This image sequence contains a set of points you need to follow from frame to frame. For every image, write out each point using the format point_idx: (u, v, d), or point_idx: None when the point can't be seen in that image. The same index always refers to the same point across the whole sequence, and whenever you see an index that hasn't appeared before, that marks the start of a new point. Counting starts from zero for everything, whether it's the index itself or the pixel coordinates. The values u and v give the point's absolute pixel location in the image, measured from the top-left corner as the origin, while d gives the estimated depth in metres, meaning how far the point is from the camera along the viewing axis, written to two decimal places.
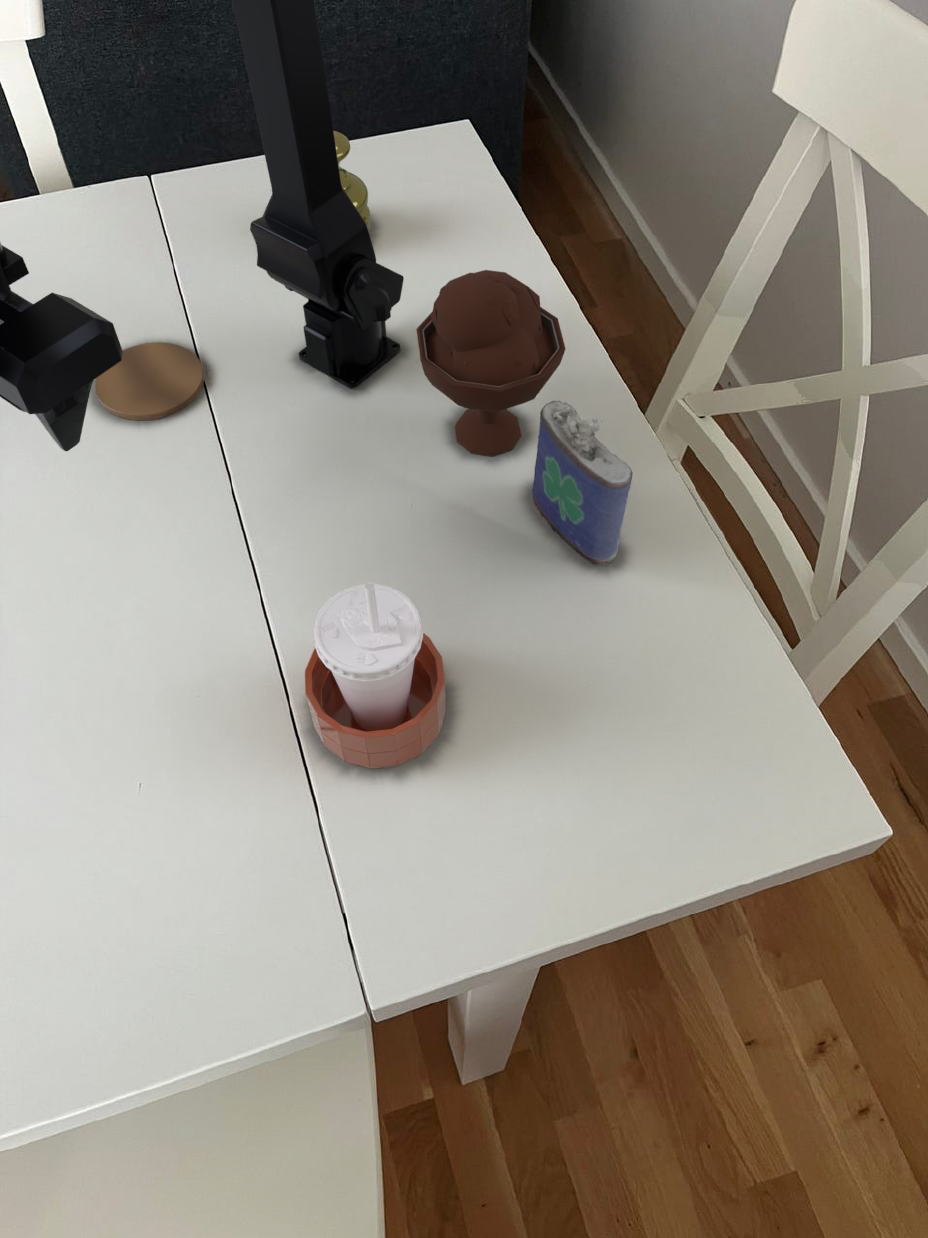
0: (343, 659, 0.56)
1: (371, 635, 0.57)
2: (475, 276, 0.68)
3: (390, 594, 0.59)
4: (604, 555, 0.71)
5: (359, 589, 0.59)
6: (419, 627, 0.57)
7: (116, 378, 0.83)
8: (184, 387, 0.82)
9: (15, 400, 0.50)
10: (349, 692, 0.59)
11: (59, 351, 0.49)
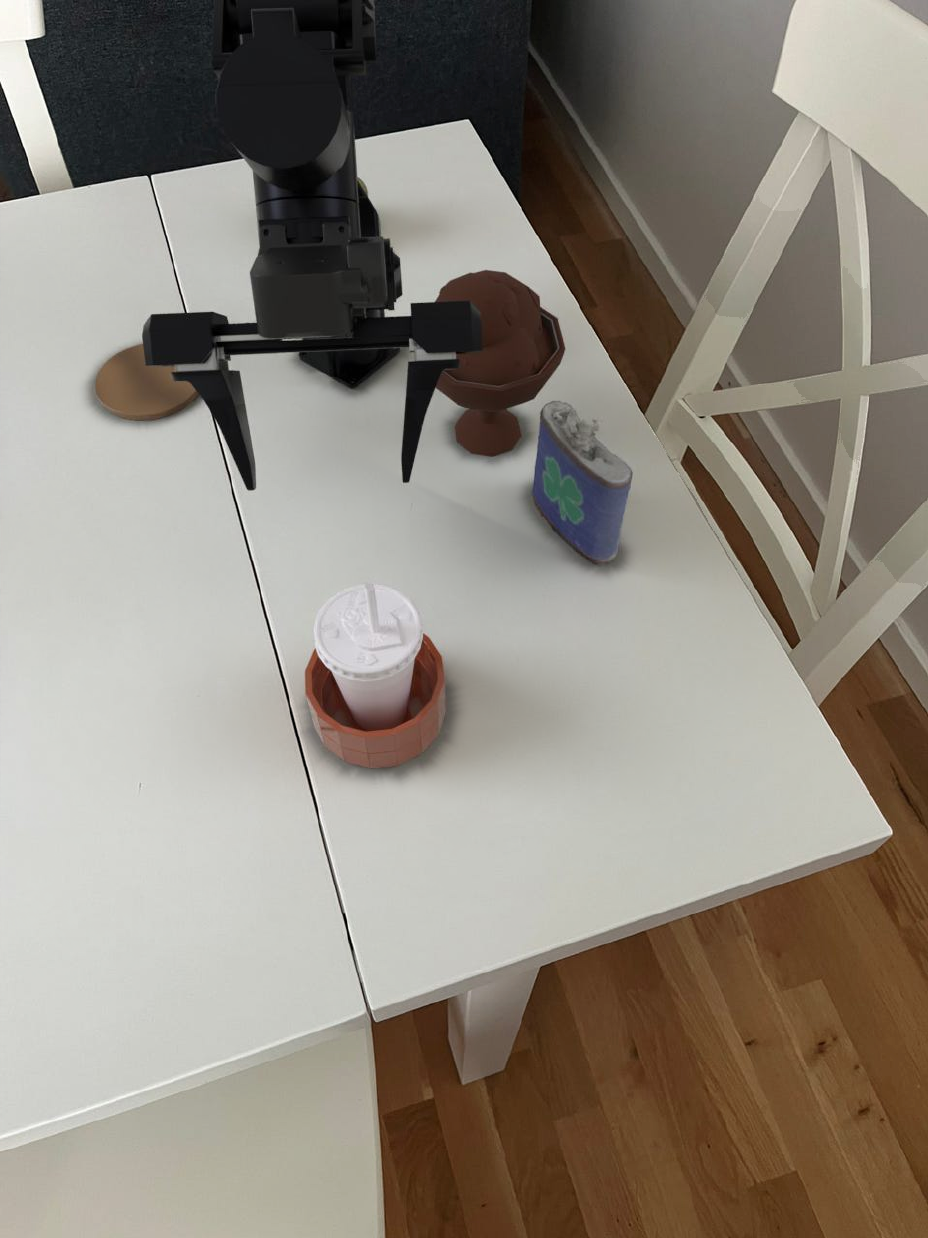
0: (343, 659, 0.56)
1: (371, 635, 0.57)
2: (475, 276, 0.68)
3: (390, 594, 0.59)
4: (604, 555, 0.71)
5: (359, 589, 0.59)
6: (419, 627, 0.57)
7: (116, 378, 0.83)
8: (184, 387, 0.82)
9: (456, 343, 0.54)
10: (349, 692, 0.59)
11: None
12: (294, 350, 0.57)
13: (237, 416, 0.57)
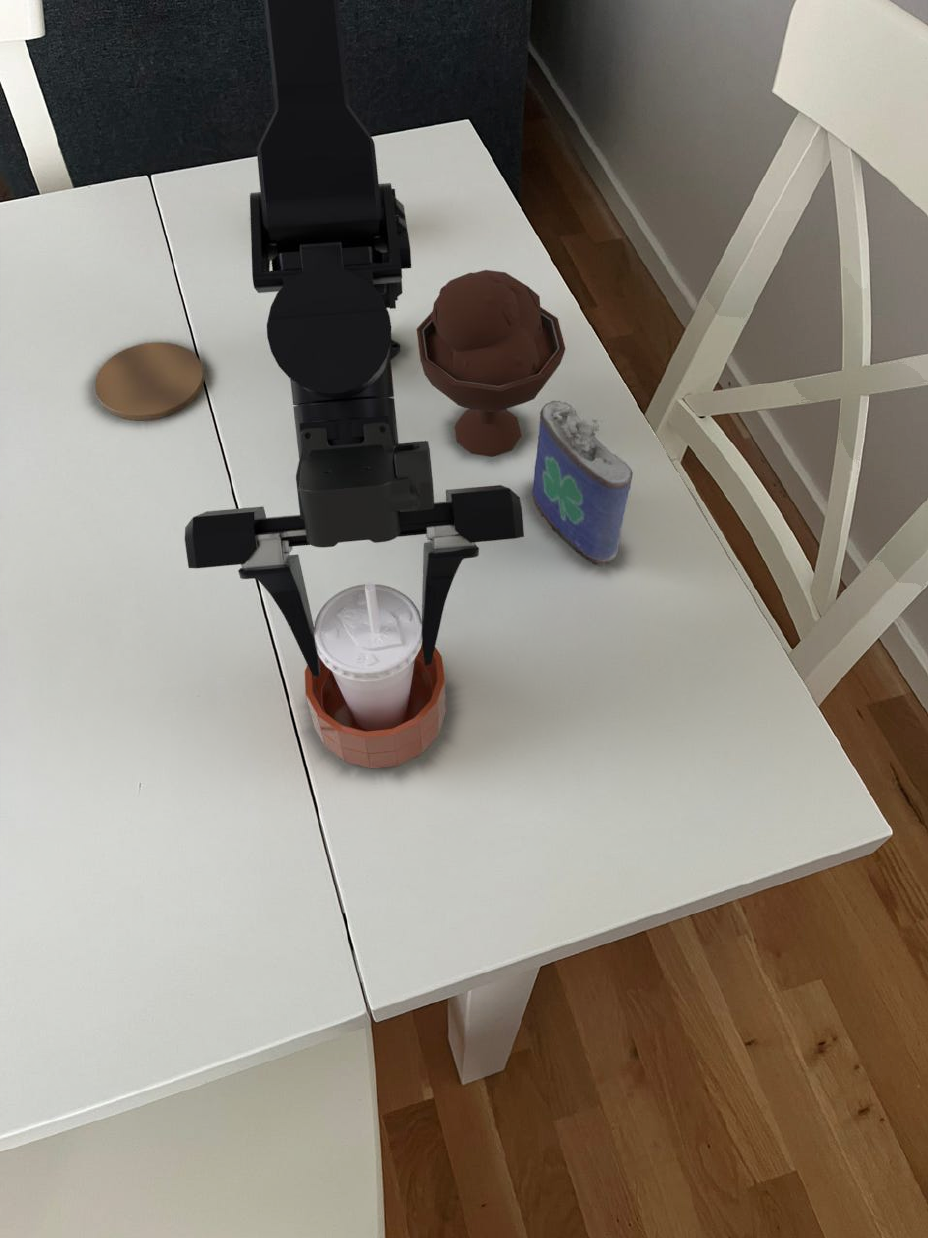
0: (343, 659, 0.56)
1: (371, 635, 0.57)
2: (475, 276, 0.68)
3: (390, 594, 0.59)
4: (604, 555, 0.71)
5: (360, 589, 0.59)
6: (419, 627, 0.57)
7: (116, 378, 0.83)
8: (184, 387, 0.82)
9: (499, 532, 0.55)
10: (349, 692, 0.59)
11: None
12: None
13: (303, 607, 0.56)
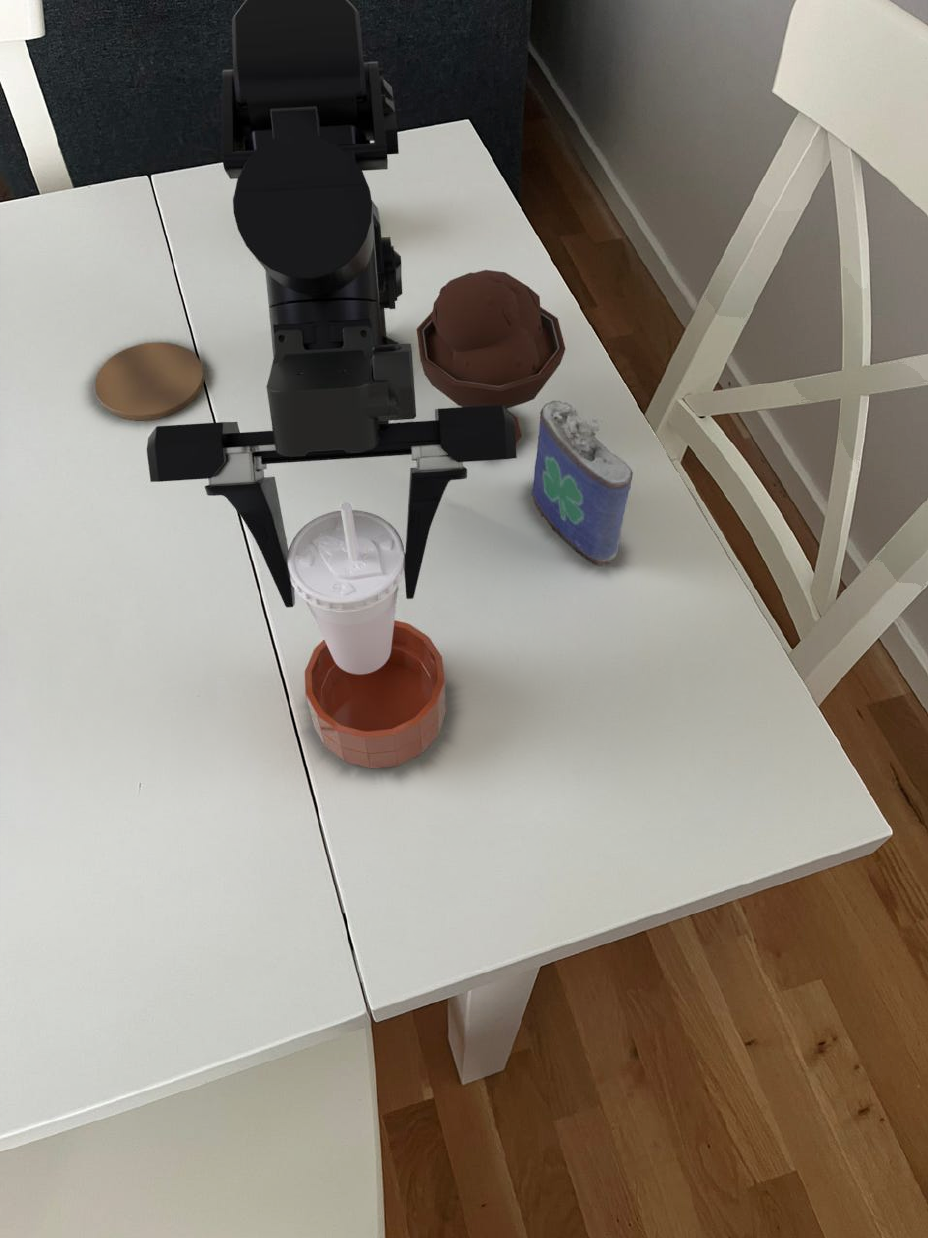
0: (317, 587, 0.52)
1: (349, 563, 0.52)
2: (475, 276, 0.68)
3: (372, 521, 0.54)
4: (604, 555, 0.71)
5: (339, 514, 0.55)
6: (401, 556, 0.53)
7: (116, 378, 0.83)
8: (184, 387, 0.82)
9: (489, 451, 0.50)
10: (325, 626, 0.55)
11: None
12: (311, 459, 0.52)
13: (276, 530, 0.52)
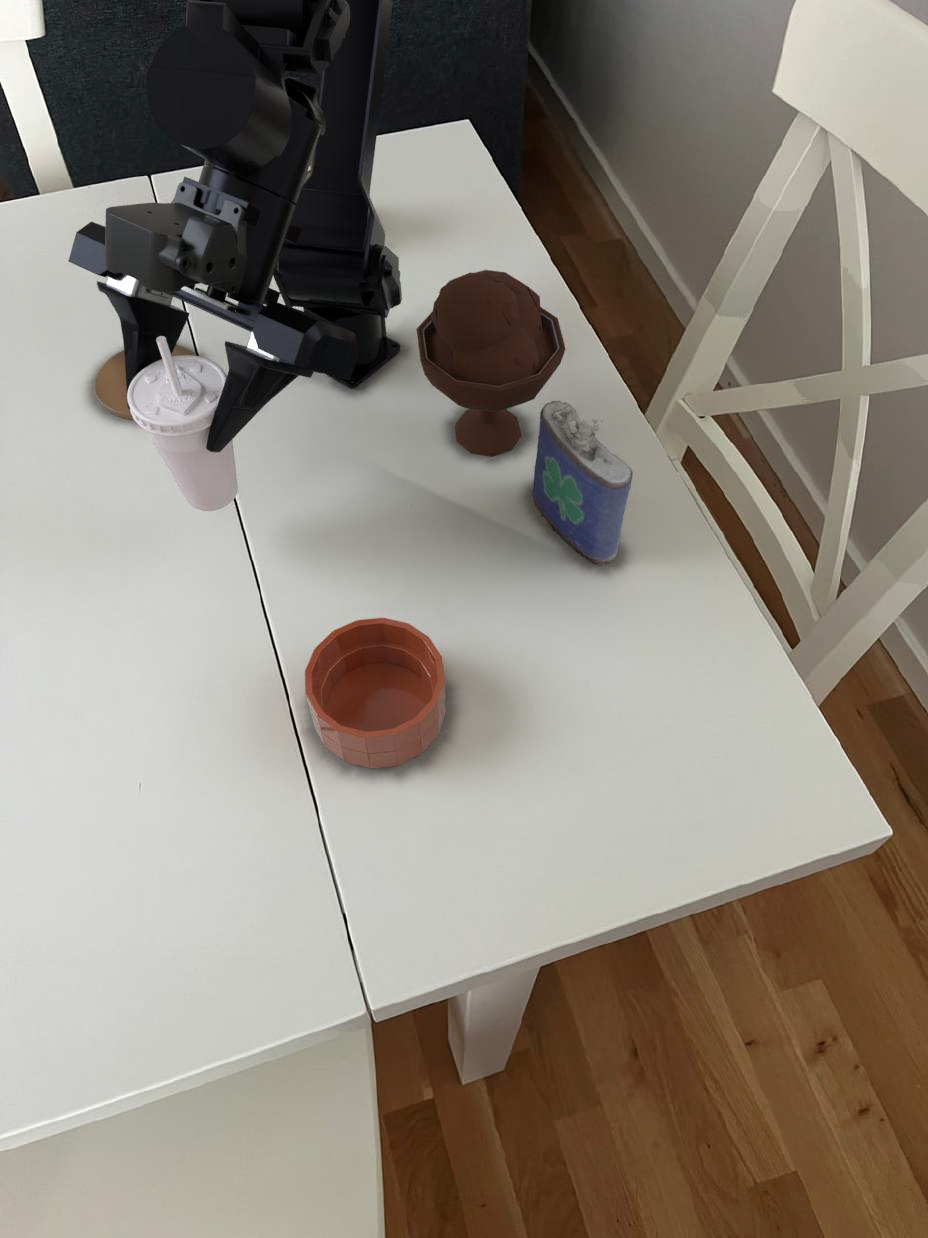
0: (137, 400, 0.61)
1: (171, 395, 0.61)
2: (475, 276, 0.68)
3: (218, 377, 0.62)
4: (604, 555, 0.71)
5: (204, 361, 0.63)
6: (209, 410, 0.60)
7: (116, 378, 0.83)
8: None
9: (283, 351, 0.56)
10: None
11: (336, 332, 0.57)
12: (189, 302, 0.61)
13: (139, 343, 0.62)
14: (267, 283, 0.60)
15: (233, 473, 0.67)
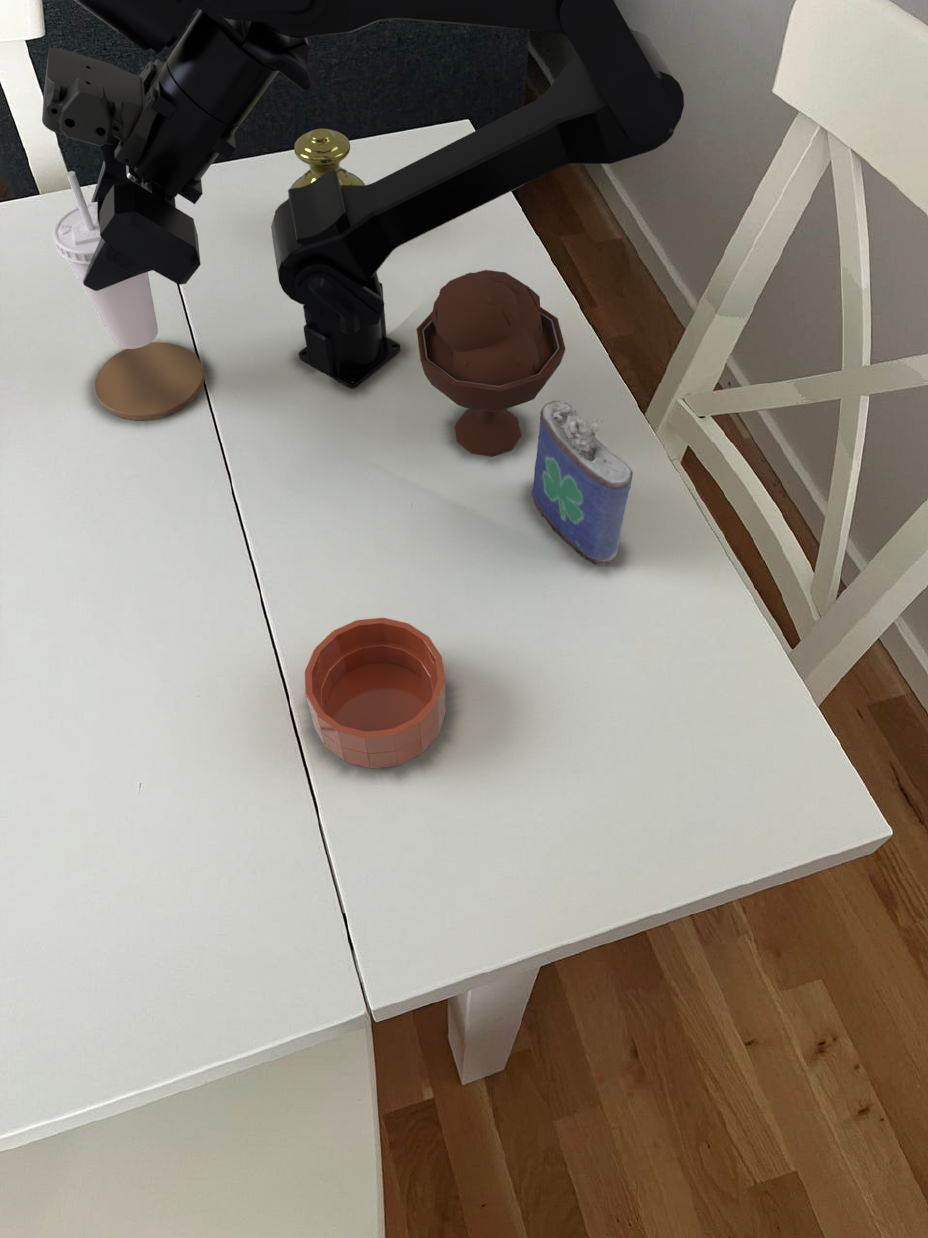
0: (68, 218, 0.72)
1: (84, 226, 0.71)
2: (475, 276, 0.68)
3: None
4: (604, 555, 0.71)
5: None
6: (90, 251, 0.69)
7: (116, 378, 0.83)
8: (184, 387, 0.82)
9: (103, 222, 0.63)
10: None
11: (158, 232, 0.63)
12: None
13: (103, 179, 0.72)
14: (178, 176, 0.67)
15: (136, 324, 0.76)
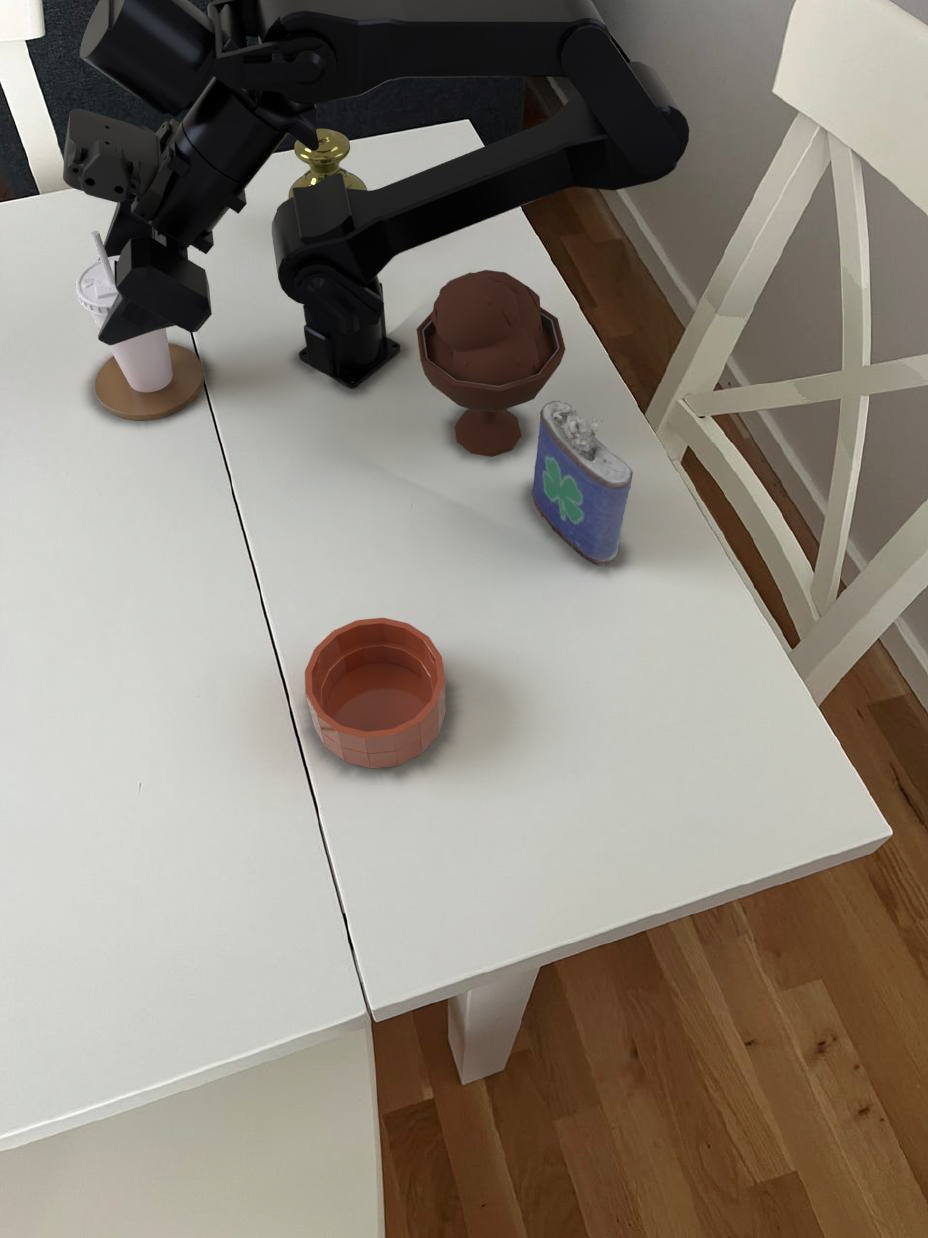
0: (90, 271, 0.76)
1: (106, 280, 0.75)
2: (475, 276, 0.68)
3: None
4: (604, 555, 0.71)
5: None
6: None
7: (116, 378, 0.83)
8: (184, 387, 0.82)
9: (120, 274, 0.66)
10: None
11: (172, 285, 0.66)
12: None
13: (117, 217, 0.76)
14: (191, 229, 0.70)
15: (153, 370, 0.80)
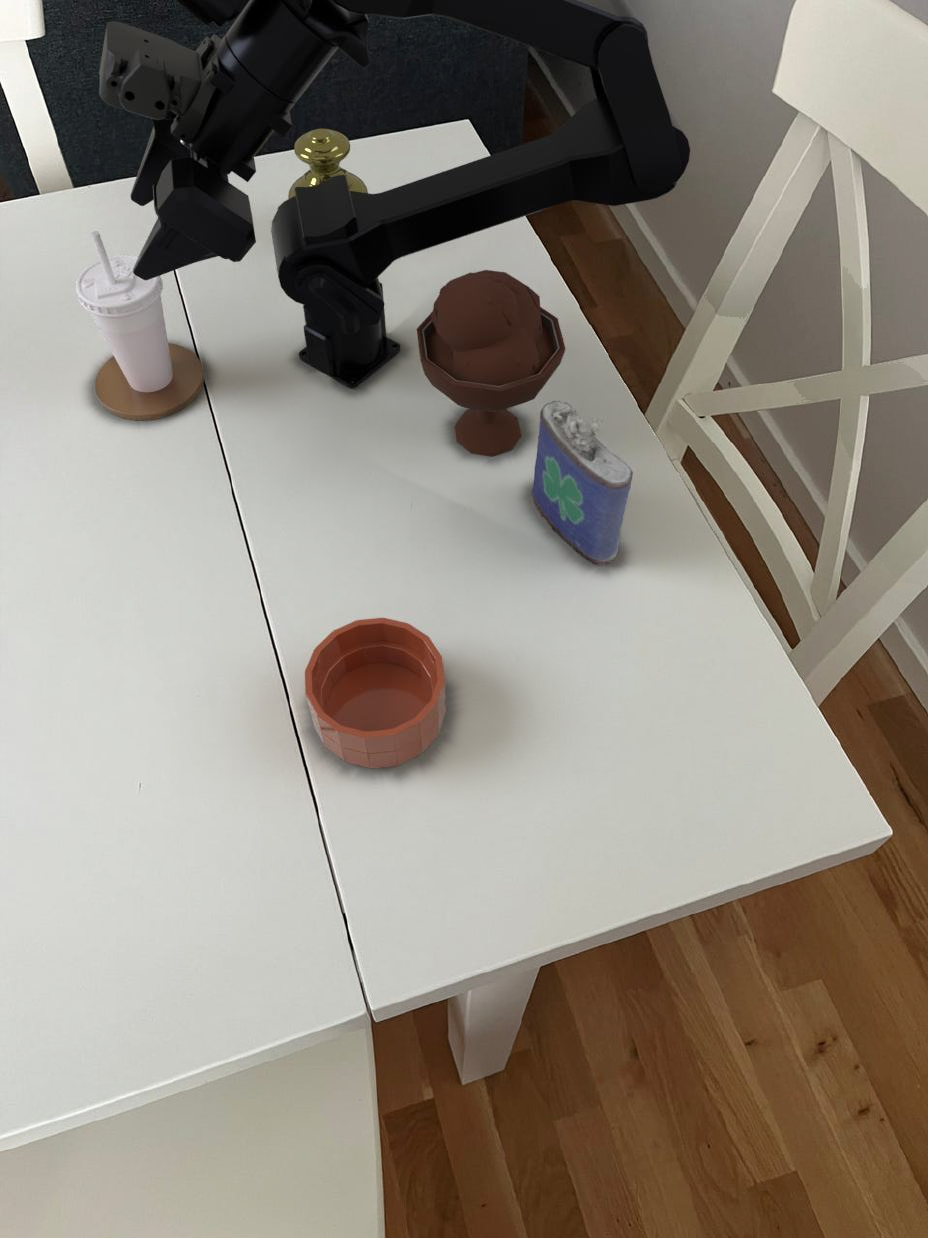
0: (90, 271, 0.76)
1: (106, 280, 0.75)
2: (475, 276, 0.68)
3: (147, 288, 0.75)
4: (604, 555, 0.71)
5: None
6: (112, 305, 0.73)
7: (116, 378, 0.83)
8: (184, 387, 0.82)
9: (160, 197, 0.62)
10: None
11: (216, 208, 0.62)
12: None
13: (152, 147, 0.72)
14: (233, 153, 0.66)
15: (153, 370, 0.80)
